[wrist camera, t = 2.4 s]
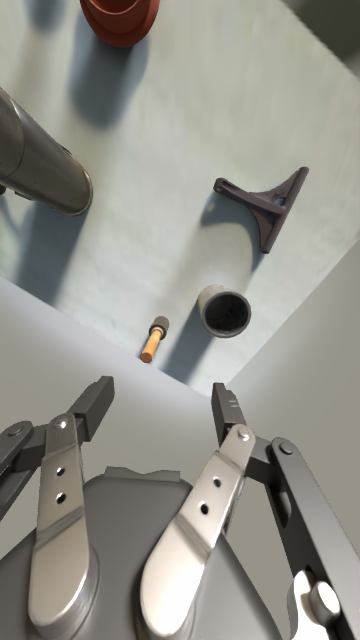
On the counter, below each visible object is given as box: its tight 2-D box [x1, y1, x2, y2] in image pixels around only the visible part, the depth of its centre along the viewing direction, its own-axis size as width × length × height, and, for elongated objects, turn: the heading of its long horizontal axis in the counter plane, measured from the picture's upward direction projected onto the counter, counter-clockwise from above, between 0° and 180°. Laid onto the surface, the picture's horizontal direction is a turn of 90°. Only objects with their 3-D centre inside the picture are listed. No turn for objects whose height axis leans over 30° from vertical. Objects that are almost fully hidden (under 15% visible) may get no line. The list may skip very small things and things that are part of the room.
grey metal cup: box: [197, 285, 251, 338], centre depth 32 cm, size 8×8×11 cm
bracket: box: [213, 167, 309, 254], centre depth 30 cm, size 14×15×3 cm
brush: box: [140, 316, 169, 363], centre depth 32 cm, size 4×4×16 cm
